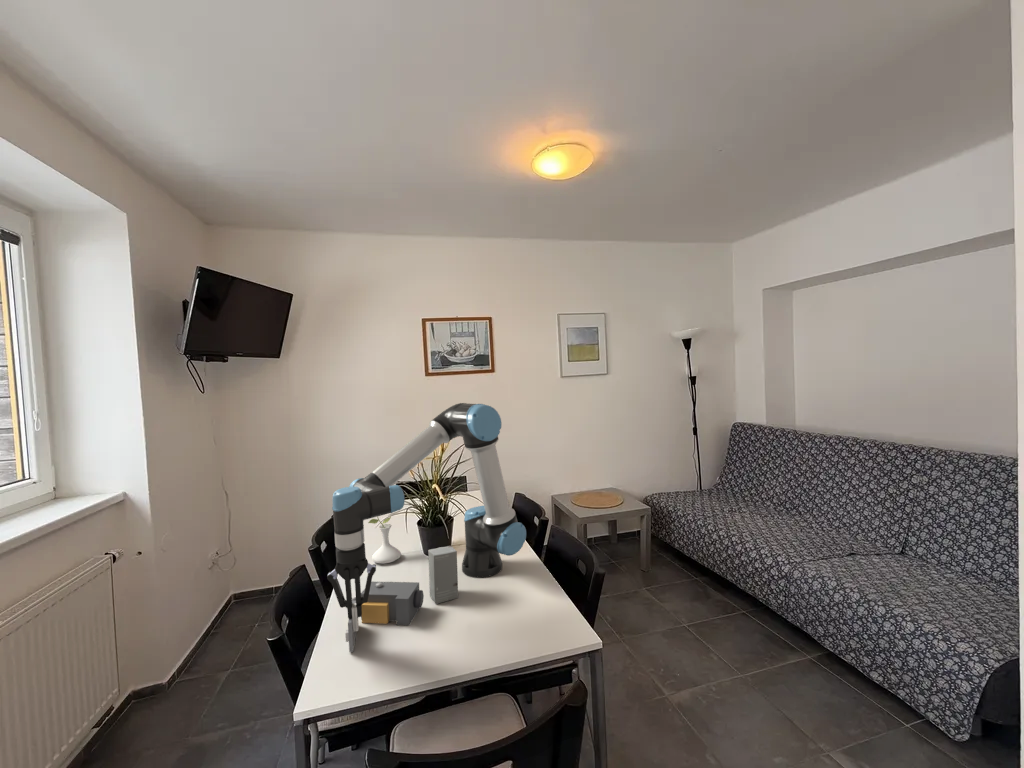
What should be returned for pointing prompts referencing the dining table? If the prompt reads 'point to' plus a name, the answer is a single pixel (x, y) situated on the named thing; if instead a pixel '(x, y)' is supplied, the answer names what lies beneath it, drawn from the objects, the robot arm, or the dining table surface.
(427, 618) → the dining table surface
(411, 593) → the housing
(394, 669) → the dining table surface
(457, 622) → the dining table surface
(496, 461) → the robot arm
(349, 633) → the door
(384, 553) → the flower in vase
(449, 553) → the skincare box
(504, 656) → the dining table surface
